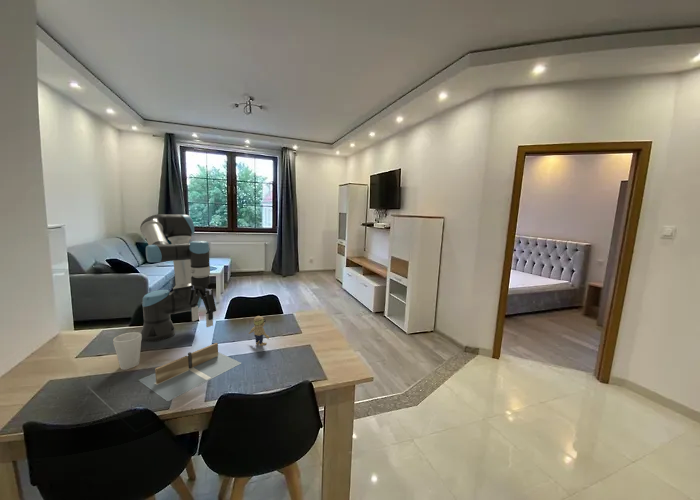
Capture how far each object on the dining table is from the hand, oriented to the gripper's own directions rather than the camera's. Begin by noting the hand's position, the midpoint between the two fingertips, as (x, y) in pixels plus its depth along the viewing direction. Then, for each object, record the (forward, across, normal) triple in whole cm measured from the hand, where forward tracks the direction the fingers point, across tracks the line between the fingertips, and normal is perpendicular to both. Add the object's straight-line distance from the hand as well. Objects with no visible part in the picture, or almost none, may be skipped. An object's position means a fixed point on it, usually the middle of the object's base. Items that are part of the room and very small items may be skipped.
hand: (202, 323), depth 131 cm
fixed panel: (+15, +6, -17) cm, 23 cm away
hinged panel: (+15, +6, -4) cm, 17 cm away
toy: (+16, +12, +22) cm, 30 cm away
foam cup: (+16, -17, -23) cm, 33 cm away
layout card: (+16, +9, -10) cm, 21 cm away
